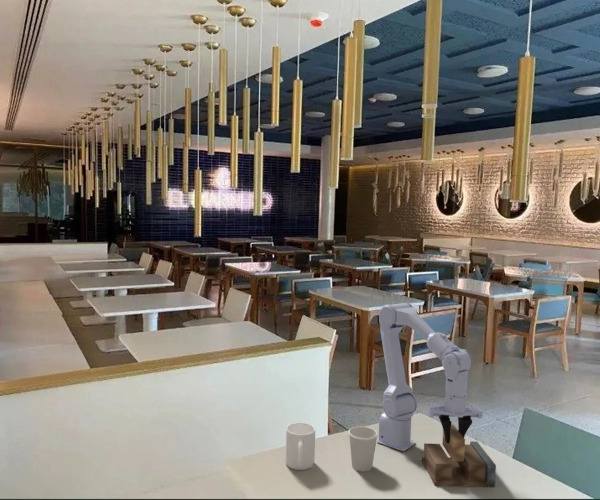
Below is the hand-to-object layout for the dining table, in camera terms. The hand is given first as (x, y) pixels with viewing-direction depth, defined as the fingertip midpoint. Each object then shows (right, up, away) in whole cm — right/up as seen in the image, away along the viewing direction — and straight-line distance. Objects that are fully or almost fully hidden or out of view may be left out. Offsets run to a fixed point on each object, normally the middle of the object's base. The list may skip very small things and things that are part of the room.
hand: (453, 441), depth 139 cm
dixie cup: (-25, -8, +3) cm, 27 cm away
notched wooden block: (0, -9, +1) cm, 9 cm away
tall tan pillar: (0, -3, 0) cm, 3 cm away
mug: (-43, -8, +2) cm, 44 cm away
